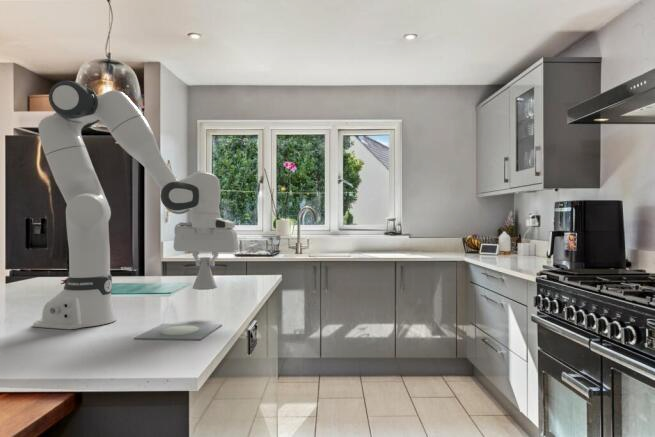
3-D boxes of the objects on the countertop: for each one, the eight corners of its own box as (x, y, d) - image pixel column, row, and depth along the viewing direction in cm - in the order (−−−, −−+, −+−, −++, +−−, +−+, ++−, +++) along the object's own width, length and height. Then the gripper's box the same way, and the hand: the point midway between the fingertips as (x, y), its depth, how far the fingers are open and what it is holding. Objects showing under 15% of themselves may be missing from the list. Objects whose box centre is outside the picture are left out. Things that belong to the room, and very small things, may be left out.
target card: (133, 339, 117) (133, 336, 117) (162, 324, 133) (162, 322, 133) (200, 340, 115) (200, 337, 115) (221, 325, 131) (221, 323, 131)
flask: (206, 291, 139) (207, 258, 139) (187, 289, 142) (188, 257, 142) (221, 288, 145) (221, 257, 146) (202, 286, 148) (203, 256, 148)
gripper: (170, 222, 142) (169, 266, 142) (233, 222, 140) (232, 267, 140) (179, 222, 148) (178, 264, 148) (239, 223, 146) (238, 265, 146)
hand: (205, 265), depth 144 cm, fingers closed on flask, 3 cm apart
